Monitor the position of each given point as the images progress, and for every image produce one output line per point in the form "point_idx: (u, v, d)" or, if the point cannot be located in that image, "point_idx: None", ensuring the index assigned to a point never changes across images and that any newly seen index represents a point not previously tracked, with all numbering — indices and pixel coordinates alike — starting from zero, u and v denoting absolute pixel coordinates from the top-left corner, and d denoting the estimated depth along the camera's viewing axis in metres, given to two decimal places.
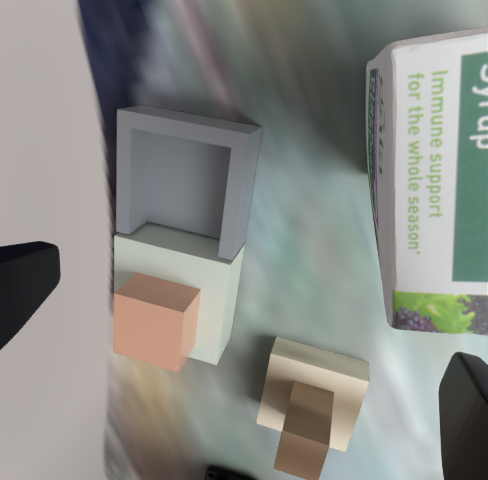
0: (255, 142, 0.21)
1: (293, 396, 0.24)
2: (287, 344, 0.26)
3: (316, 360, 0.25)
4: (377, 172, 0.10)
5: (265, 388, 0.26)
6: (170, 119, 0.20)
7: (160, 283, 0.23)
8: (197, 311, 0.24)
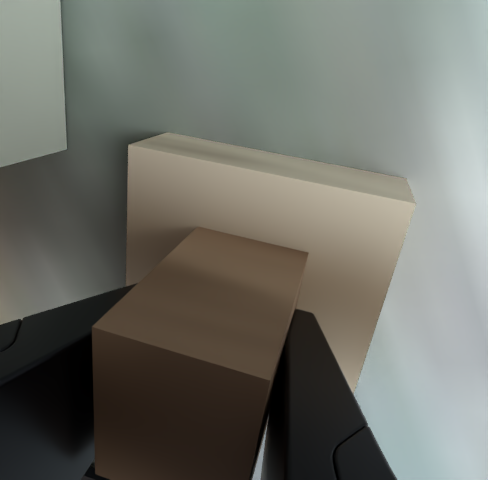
0: None
1: (181, 252, 0.08)
2: (186, 142, 0.10)
3: (258, 164, 0.09)
4: None
5: (130, 260, 0.10)
6: None
7: None
8: None
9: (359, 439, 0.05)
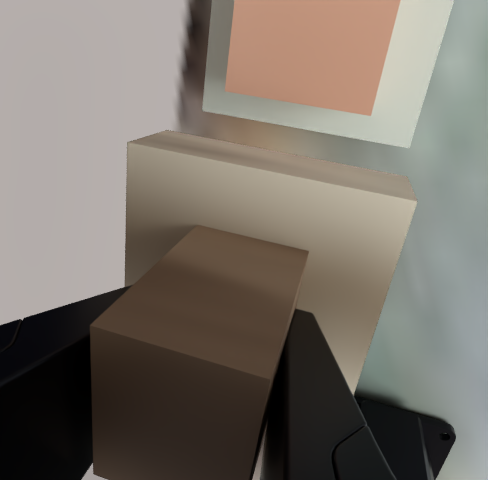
0: None
1: (180, 250, 0.08)
2: (185, 140, 0.10)
3: (258, 162, 0.09)
4: None
5: (129, 259, 0.10)
6: None
7: None
8: None
9: (358, 439, 0.05)
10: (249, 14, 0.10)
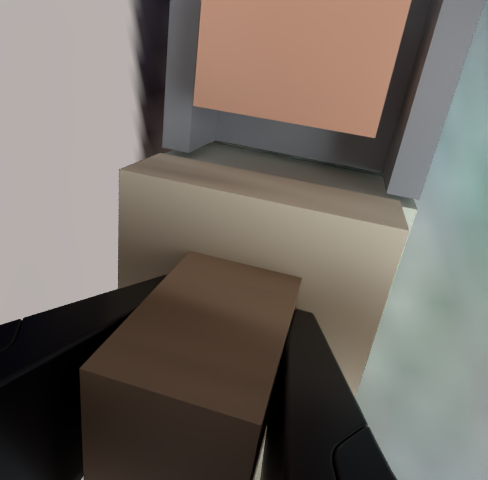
0: None
1: (172, 280, 0.08)
2: (178, 164, 0.10)
3: (251, 188, 0.09)
4: None
5: (122, 284, 0.10)
6: None
7: None
8: None
9: (359, 439, 0.05)
10: None
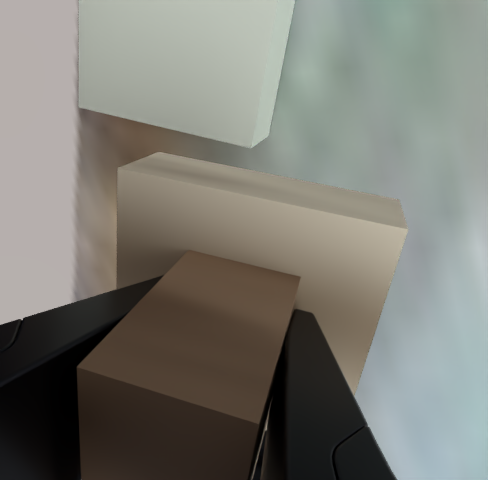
0: None
1: (170, 279, 0.08)
2: (177, 163, 0.10)
3: (249, 187, 0.09)
4: None
5: (121, 283, 0.10)
6: None
7: None
8: None
9: (359, 439, 0.05)
10: None
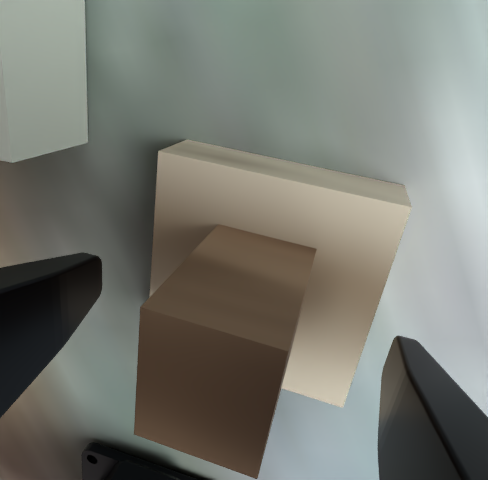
0: None
1: (206, 246, 0.09)
2: (208, 148, 0.11)
3: (273, 170, 0.10)
4: None
5: (156, 254, 0.11)
6: None
7: None
8: None
9: None
10: None
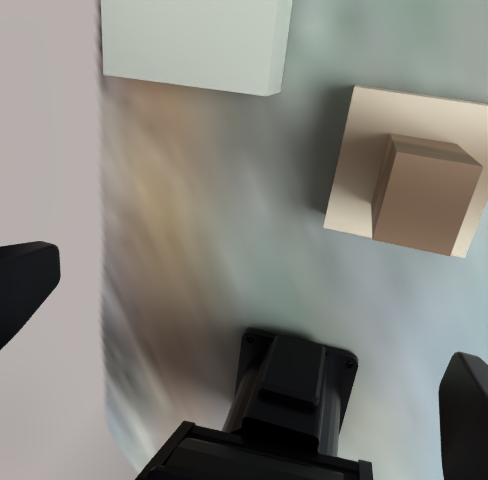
0: None
1: (396, 139, 0.15)
2: (375, 88, 0.17)
3: (427, 96, 0.16)
4: None
5: (341, 158, 0.17)
6: None
7: None
8: None
9: None
10: None
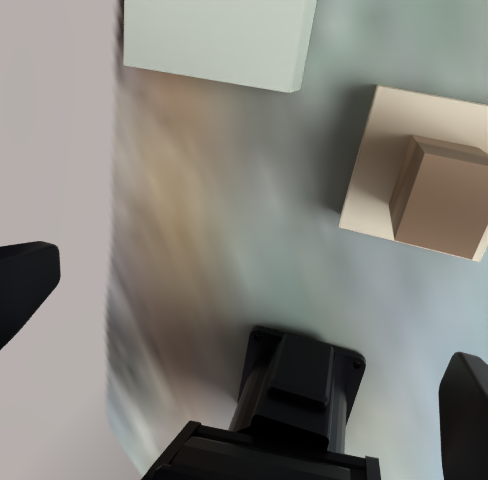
0: None
1: (420, 140, 0.15)
2: (397, 88, 0.17)
3: (450, 98, 0.16)
4: None
5: (361, 157, 0.17)
6: None
7: None
8: None
9: None
10: None
